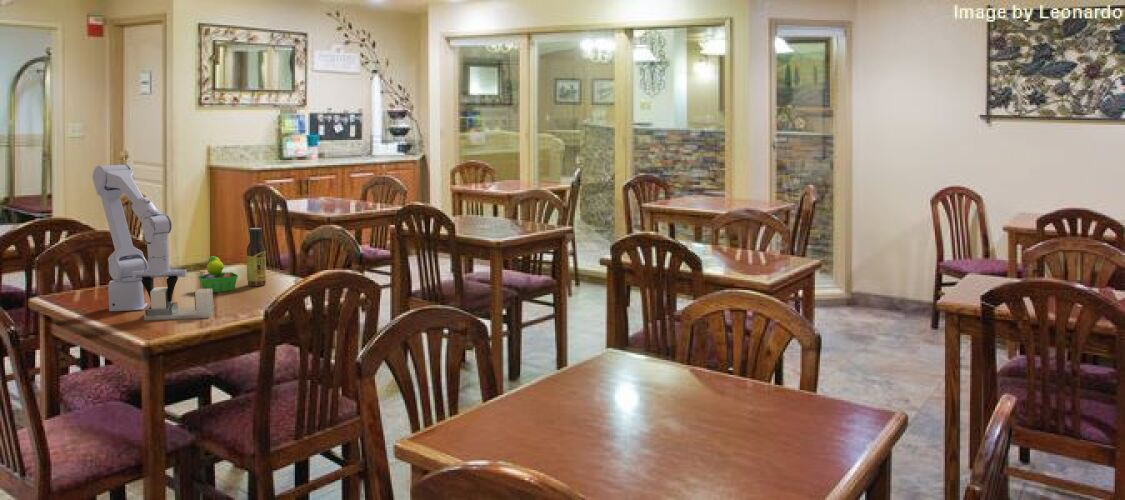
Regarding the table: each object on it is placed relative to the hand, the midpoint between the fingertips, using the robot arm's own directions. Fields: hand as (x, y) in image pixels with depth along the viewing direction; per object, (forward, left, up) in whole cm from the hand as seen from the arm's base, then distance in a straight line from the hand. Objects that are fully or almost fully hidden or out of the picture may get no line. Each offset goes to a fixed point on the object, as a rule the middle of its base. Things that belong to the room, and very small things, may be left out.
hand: (161, 301), depth 269 cm
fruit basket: (+11, +36, -5) cm, 38 cm away
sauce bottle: (+23, +42, -5) cm, 48 cm away
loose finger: (0, -1, -2) cm, 2 cm away
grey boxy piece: (+5, 0, -4) cm, 7 cm away
